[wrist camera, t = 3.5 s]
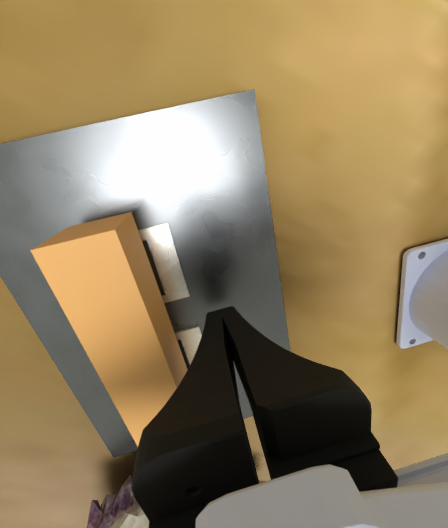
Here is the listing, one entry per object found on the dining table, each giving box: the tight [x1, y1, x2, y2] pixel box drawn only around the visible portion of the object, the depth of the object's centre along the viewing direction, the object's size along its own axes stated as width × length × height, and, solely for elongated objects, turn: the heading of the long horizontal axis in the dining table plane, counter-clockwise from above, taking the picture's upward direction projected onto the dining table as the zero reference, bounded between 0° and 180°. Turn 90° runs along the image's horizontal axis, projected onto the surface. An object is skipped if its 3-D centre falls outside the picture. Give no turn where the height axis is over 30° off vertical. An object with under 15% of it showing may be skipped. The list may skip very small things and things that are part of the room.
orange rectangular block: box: [30, 212, 188, 446], centre depth 12 cm, size 16×4×4 cm, turn 12°
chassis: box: [0, 89, 290, 457], centre depth 14 cm, size 13×19×2 cm
